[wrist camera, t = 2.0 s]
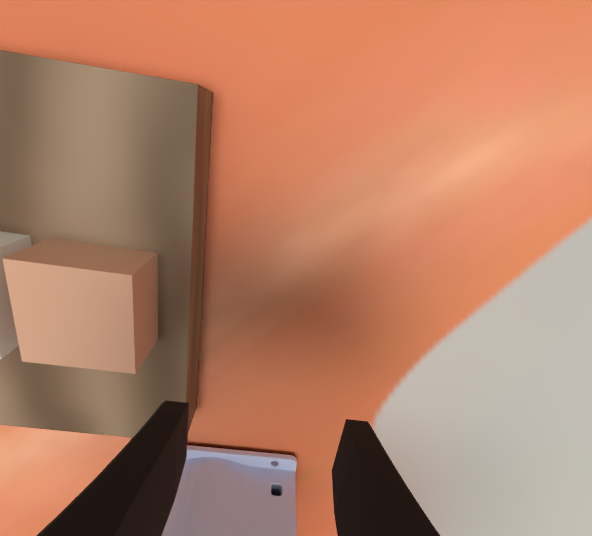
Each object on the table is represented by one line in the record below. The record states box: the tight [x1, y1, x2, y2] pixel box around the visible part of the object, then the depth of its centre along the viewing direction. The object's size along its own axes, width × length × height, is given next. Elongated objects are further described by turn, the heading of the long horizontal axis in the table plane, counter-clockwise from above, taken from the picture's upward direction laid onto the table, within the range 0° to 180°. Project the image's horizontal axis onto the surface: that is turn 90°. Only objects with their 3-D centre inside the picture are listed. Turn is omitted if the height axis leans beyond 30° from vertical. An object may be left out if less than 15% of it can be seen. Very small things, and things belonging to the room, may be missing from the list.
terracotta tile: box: [2, 238, 158, 374], centre depth 14 cm, size 4×4×2 cm
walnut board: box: [0, 50, 213, 438], centre depth 16 cm, size 14×18×2 cm
